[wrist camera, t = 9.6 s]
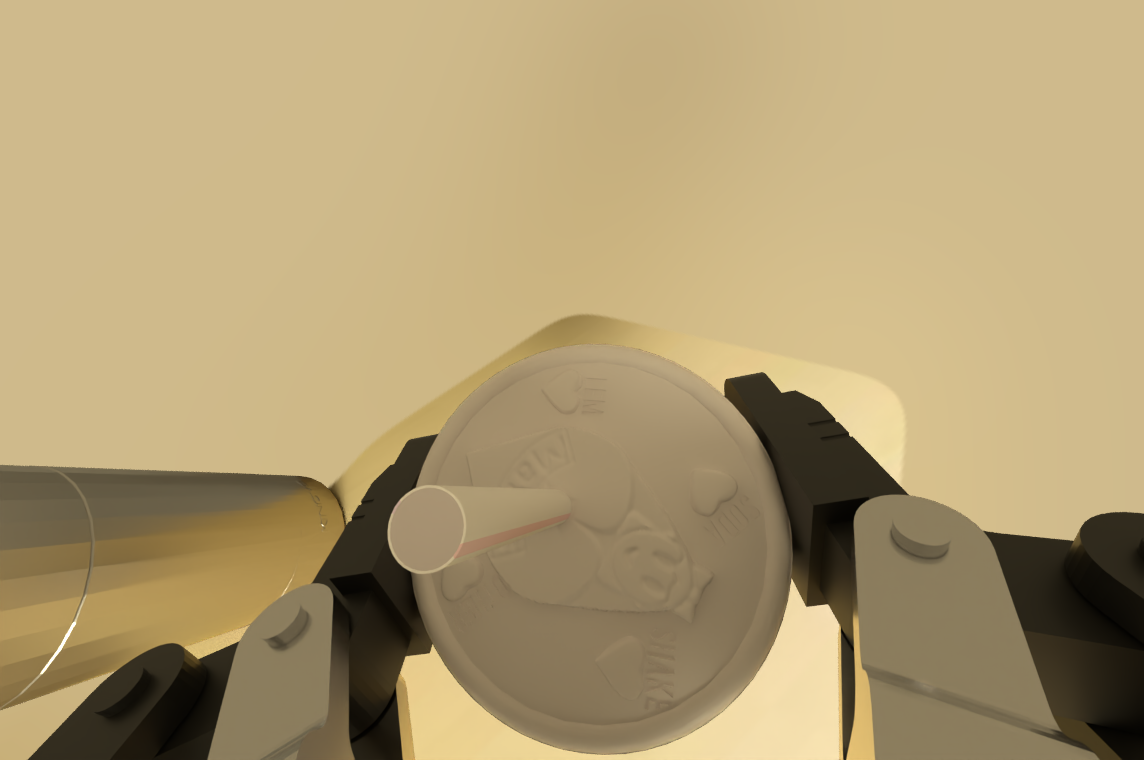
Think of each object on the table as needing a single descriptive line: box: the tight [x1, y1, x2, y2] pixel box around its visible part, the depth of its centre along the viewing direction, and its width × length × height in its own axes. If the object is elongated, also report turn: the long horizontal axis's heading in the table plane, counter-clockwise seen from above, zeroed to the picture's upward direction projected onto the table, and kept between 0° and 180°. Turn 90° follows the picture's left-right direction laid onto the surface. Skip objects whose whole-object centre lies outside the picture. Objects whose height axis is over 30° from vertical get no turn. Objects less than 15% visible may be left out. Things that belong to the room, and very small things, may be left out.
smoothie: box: [388, 344, 793, 755], centre depth 9 cm, size 6×6×14 cm
